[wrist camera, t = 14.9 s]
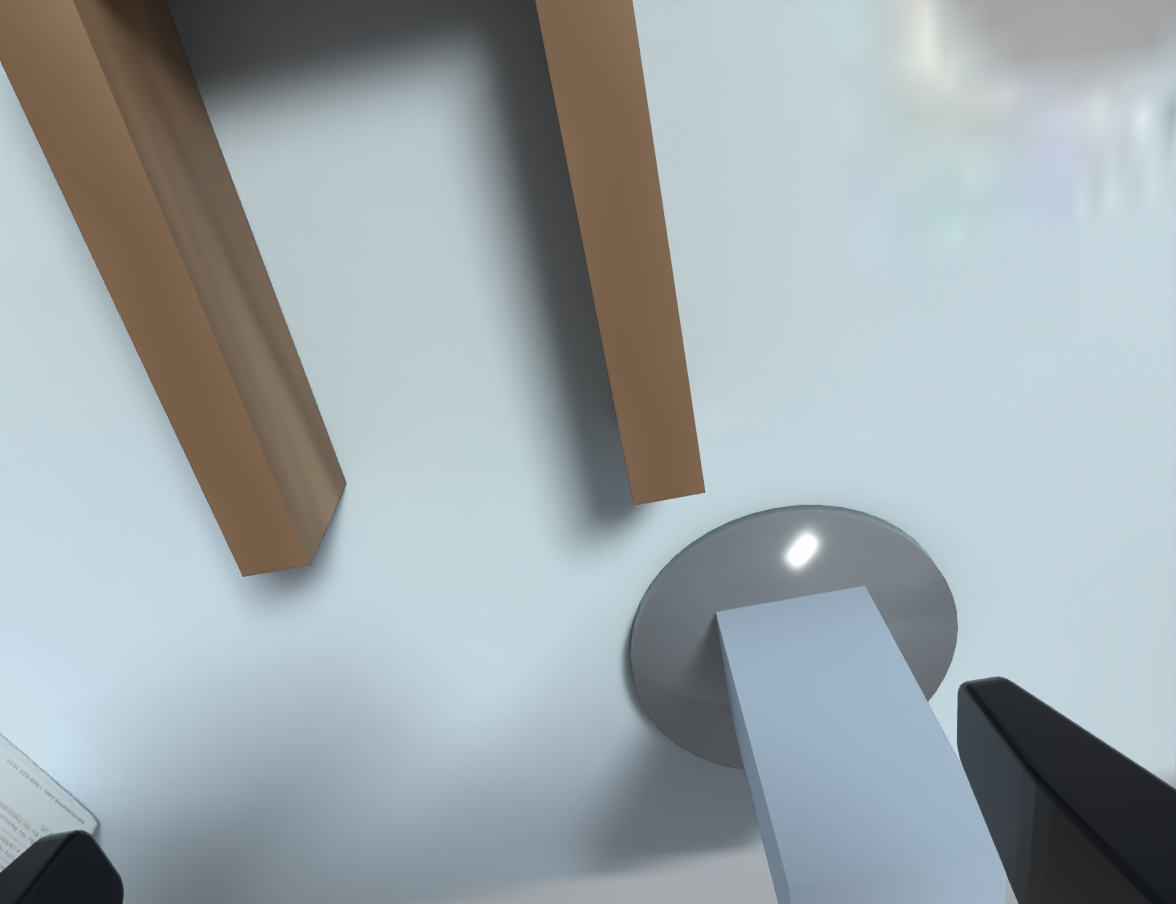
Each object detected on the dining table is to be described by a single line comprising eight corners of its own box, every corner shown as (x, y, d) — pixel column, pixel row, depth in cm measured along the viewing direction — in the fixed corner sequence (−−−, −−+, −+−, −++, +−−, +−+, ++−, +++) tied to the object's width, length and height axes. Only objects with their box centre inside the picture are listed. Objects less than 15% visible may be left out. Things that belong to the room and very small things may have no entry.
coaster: (950, 476, 22) (960, 488, 21) (947, 729, 26) (956, 744, 25) (604, 539, 22) (605, 552, 22) (656, 776, 26) (658, 792, 26)
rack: (579, -245, 15) (585, -312, 12) (682, 420, 21) (705, 492, 18) (34, -116, 15) (-99, -148, 12) (288, 493, 21) (243, 576, 18)
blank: (865, 586, 22) (1008, 851, 15) (870, 696, 24) (1000, 979, 17) (715, 611, 23) (788, 885, 16) (732, 719, 25) (804, 1008, 17)
